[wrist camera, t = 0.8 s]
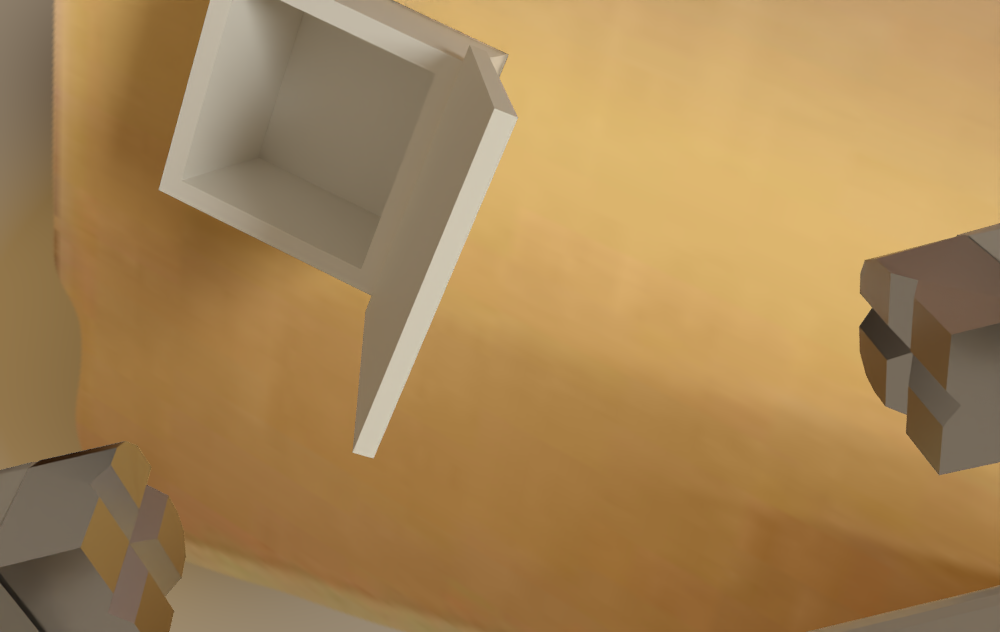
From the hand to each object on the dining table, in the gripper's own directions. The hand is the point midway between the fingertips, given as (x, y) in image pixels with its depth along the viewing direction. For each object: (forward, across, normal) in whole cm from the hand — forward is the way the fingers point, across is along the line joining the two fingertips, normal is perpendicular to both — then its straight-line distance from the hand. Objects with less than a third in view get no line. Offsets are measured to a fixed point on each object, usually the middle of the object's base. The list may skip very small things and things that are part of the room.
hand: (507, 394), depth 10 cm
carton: (+41, +5, +11) cm, 43 cm away
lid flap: (+24, +3, +10) cm, 26 cm away
